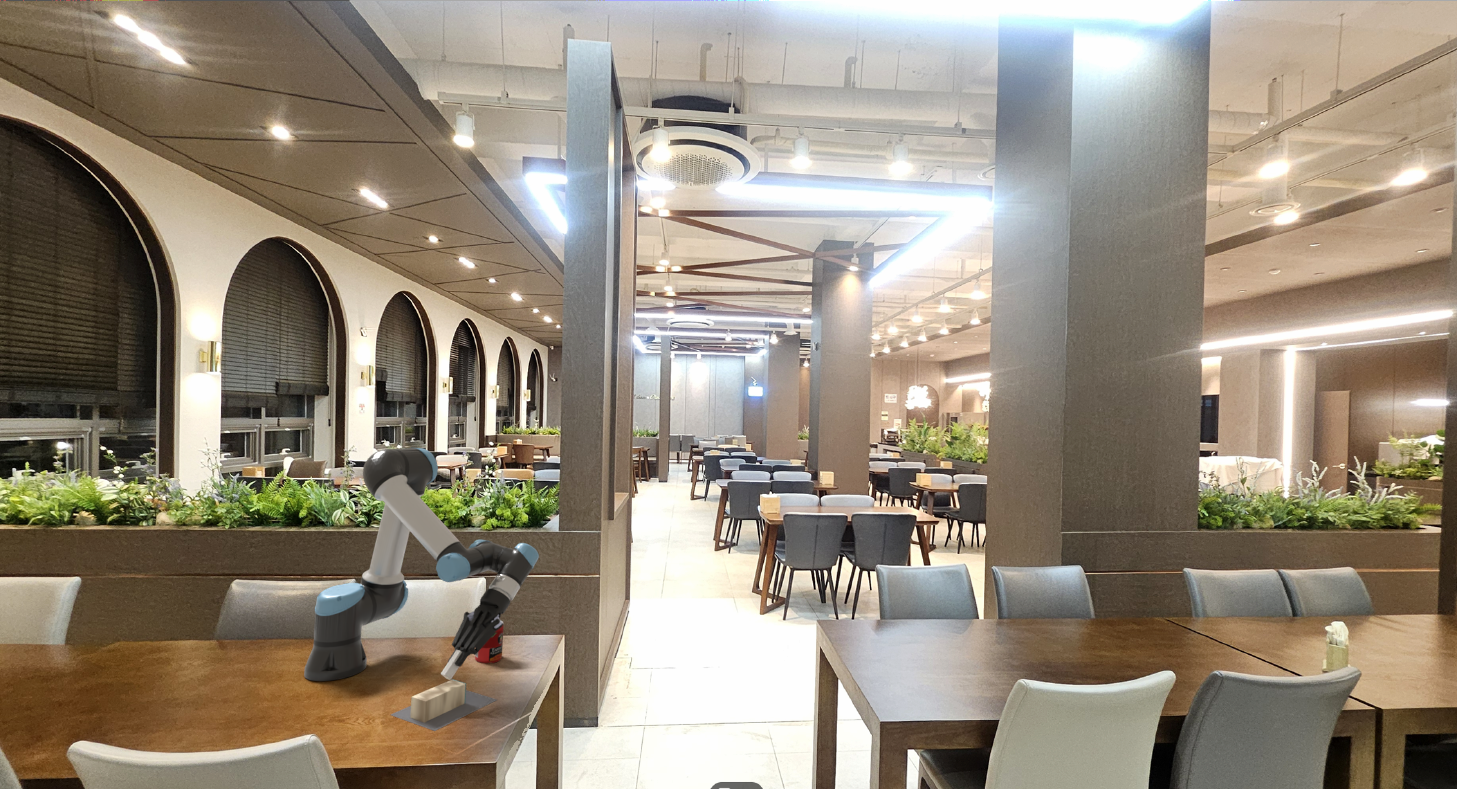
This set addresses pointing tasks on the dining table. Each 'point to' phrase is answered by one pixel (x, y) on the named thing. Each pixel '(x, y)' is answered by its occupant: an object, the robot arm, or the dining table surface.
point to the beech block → (438, 700)
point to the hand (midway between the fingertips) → (445, 676)
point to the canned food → (491, 648)
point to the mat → (449, 712)
